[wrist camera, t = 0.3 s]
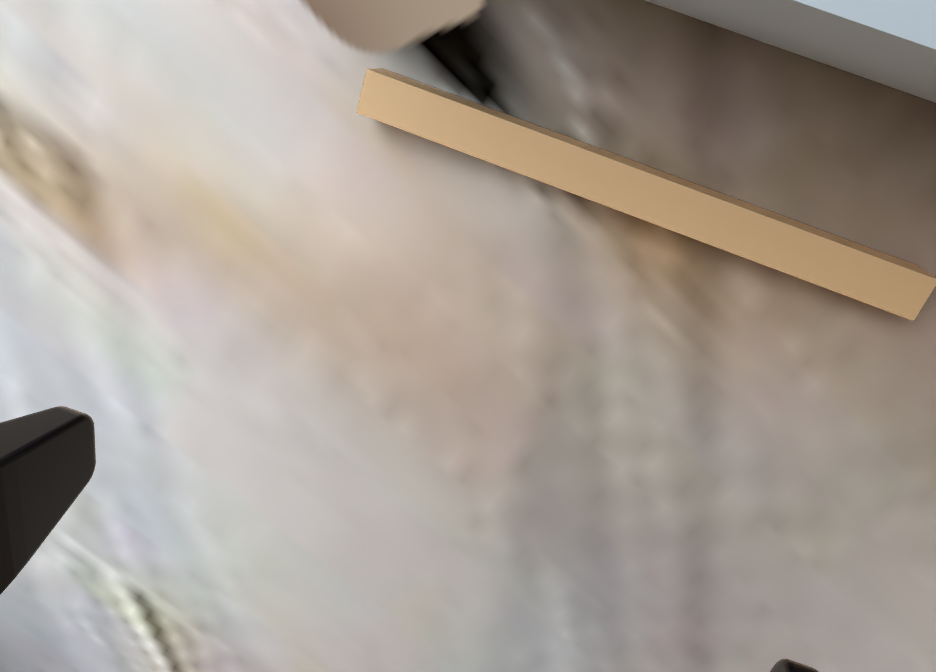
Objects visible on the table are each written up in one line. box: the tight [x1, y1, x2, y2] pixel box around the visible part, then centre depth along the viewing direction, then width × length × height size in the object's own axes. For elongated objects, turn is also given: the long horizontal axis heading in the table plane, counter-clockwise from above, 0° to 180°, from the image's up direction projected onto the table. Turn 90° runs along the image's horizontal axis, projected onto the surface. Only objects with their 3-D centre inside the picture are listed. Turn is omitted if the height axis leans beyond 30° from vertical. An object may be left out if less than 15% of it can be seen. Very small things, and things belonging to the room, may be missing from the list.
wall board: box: [356, 0, 936, 321], centre depth 16 cm, size 6×20×9 cm, turn 71°
